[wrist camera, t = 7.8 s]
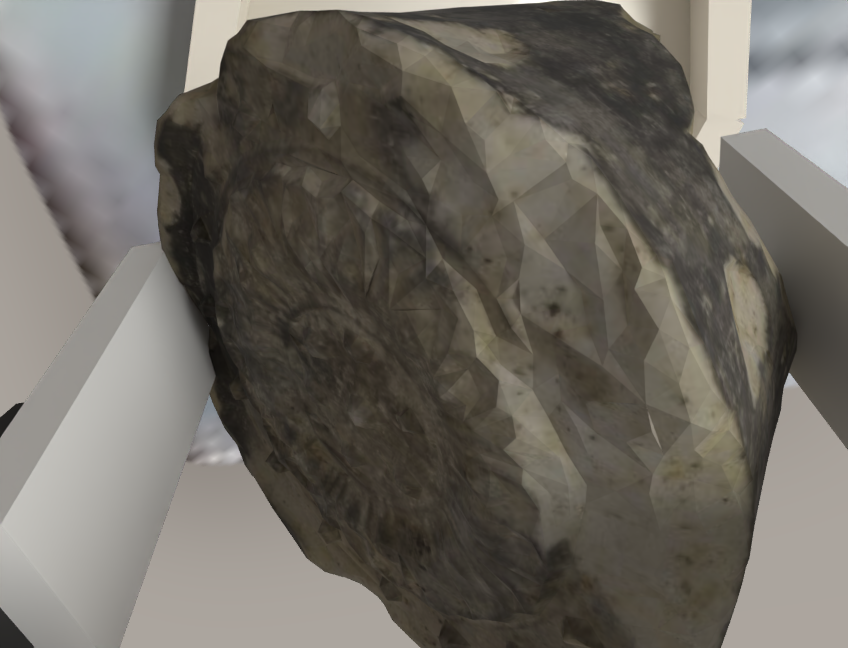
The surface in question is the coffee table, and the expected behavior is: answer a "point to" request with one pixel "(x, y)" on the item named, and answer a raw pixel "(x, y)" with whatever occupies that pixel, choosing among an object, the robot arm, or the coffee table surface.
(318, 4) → the round tray
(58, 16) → the coffee table surface
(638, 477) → the fossil
